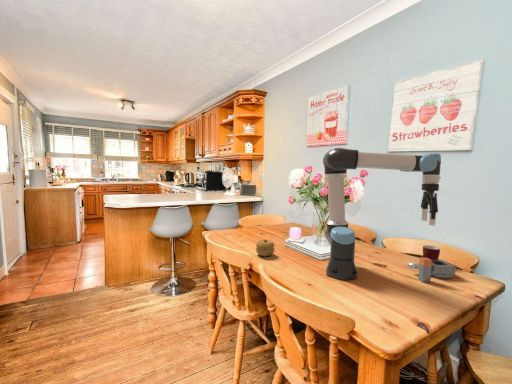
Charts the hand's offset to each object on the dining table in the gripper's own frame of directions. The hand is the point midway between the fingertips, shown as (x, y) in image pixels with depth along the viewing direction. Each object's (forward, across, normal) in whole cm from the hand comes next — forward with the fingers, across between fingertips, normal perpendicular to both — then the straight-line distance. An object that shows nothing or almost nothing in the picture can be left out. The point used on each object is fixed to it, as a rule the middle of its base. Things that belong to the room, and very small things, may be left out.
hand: (427, 222), depth 136 cm
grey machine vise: (+26, -6, 0) cm, 26 cm away
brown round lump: (+26, -7, +88) cm, 92 cm away
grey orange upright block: (+26, -17, +4) cm, 31 cm away
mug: (+26, +10, -5) cm, 28 cm away
